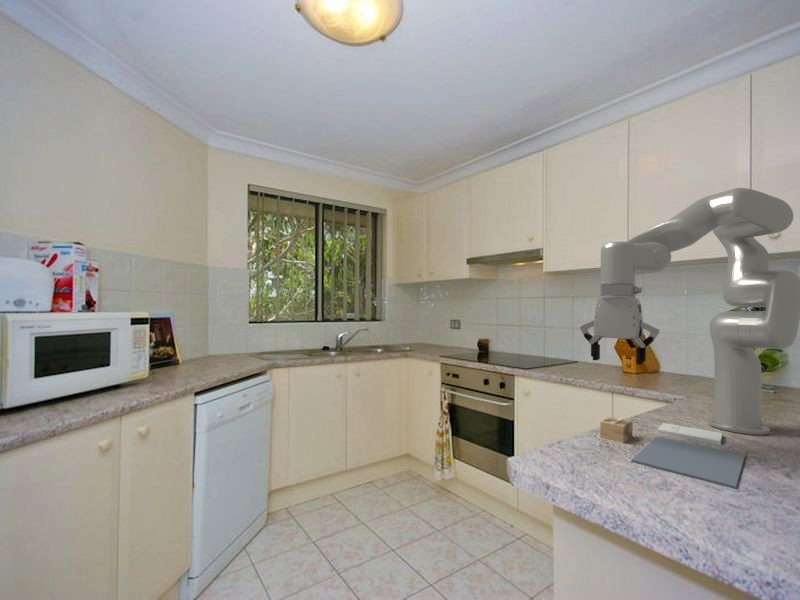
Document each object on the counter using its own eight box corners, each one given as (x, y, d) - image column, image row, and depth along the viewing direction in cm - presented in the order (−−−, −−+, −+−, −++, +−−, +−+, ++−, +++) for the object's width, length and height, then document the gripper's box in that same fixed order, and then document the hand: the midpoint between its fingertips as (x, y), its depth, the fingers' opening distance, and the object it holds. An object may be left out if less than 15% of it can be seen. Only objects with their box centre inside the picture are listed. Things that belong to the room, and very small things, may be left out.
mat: (657, 438, 93) (657, 436, 93) (745, 456, 82) (745, 454, 82) (631, 461, 78) (631, 459, 78) (735, 488, 66) (735, 486, 66)
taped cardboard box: (610, 432, 98) (610, 416, 98) (632, 437, 94) (632, 420, 94) (600, 438, 93) (600, 421, 93) (623, 443, 89) (623, 425, 89)
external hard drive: (720, 447, 89) (657, 434, 98) (722, 439, 95) (663, 427, 104) (720, 440, 89) (657, 428, 98) (722, 432, 95) (663, 421, 104)
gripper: (662, 292, 91) (662, 364, 90) (586, 293, 103) (585, 357, 102) (655, 290, 85) (655, 367, 85) (575, 292, 98) (575, 359, 97)
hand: (617, 362), depth 94 cm, fingers open, 9 cm apart
